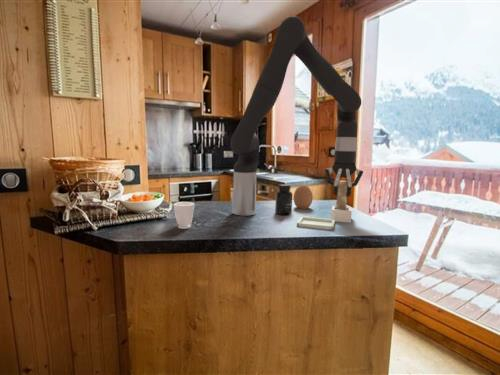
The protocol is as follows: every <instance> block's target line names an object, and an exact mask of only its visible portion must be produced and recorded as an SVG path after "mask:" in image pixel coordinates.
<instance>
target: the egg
mask: <svg viewBox="0 0 500 375" xmlns="http://www.w3.org/2000/svg"><path fill="white" fill-rule="evenodd" d="M313 199H314V198H313V193H312V190H311V188H310V187H309V186H308V185H307V184H304V183H303V184H300V185H298V186H297V188H296V189H295V191H294V193H293V198H292V201H293V204H294V205H295V207H296V208H297V209H300V210H307V209H309V208H310V207H311V206H312V203H313Z"/></svg>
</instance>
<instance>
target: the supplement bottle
mask: <svg viewBox="0 0 500 375" xmlns="http://www.w3.org/2000/svg"><path fill="white" fill-rule="evenodd" d="M274 205H275V206H274V207H275V208H274V210H275V211H274V212H275V214H276V215H278V216H289V215H290V214H292V212H293V211H292V210H293V209H292V208H293V192H291V185H290V184H283V183H281V184H278V191H276V193H275V204H274Z"/></svg>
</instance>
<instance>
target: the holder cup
mask: <svg viewBox="0 0 500 375" xmlns="http://www.w3.org/2000/svg"><path fill="white" fill-rule="evenodd" d="M330 211H331V212H330V214H331V215H330V219H335V222H339V223H340V222H343V223H352V211H353V210H352V207H350V206H346V210H338V209H336V205H332V206H331V210H330Z"/></svg>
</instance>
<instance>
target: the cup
mask: <svg viewBox="0 0 500 375" xmlns="http://www.w3.org/2000/svg"><path fill="white" fill-rule="evenodd" d="M172 206H173V210H174V215H175V220H176V224H177V225H178V226H177V228H178V229H183V230H185V229H190V228H191V227H192V222H193V218H194V212H195V211H194V210H195V206H196V205H195V202H192V201H191V202H190V201H180V202H179V201H178V202H175V203H173V205H172Z"/></svg>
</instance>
